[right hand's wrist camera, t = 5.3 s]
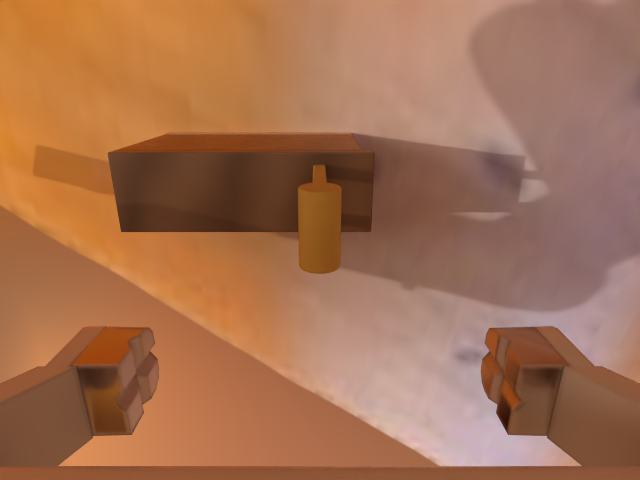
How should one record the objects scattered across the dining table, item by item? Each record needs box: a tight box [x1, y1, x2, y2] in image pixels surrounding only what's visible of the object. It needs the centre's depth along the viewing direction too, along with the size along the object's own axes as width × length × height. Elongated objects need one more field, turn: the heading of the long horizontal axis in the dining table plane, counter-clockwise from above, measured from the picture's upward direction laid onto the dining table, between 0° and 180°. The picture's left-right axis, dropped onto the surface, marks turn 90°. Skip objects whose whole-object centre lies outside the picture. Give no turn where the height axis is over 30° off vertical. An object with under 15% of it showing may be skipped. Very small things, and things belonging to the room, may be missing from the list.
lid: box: [108, 150, 374, 274], centre depth 22 cm, size 16×5×8 cm, turn 90°
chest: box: [118, 133, 361, 150], centre depth 31 cm, size 15×5×10 cm, turn 90°
